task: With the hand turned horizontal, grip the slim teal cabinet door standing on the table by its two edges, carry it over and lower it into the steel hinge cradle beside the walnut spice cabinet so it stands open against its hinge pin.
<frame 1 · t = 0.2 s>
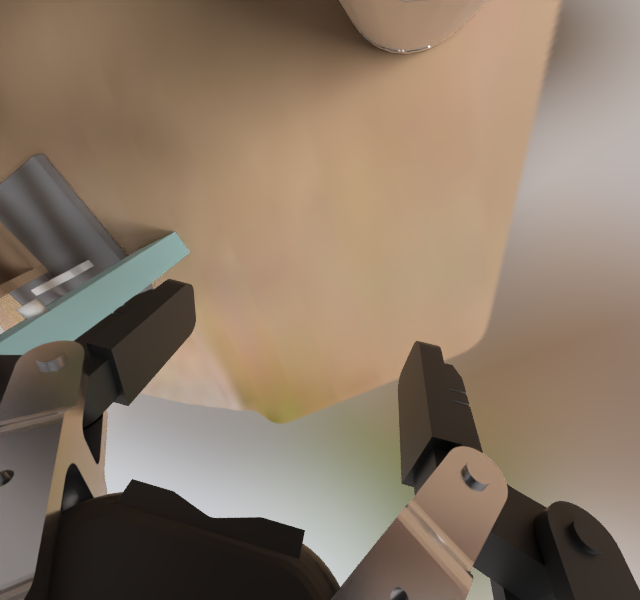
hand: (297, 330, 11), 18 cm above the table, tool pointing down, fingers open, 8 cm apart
door: (164, 250, 32), on the table
cabinet: (92, 284, 38), on the table
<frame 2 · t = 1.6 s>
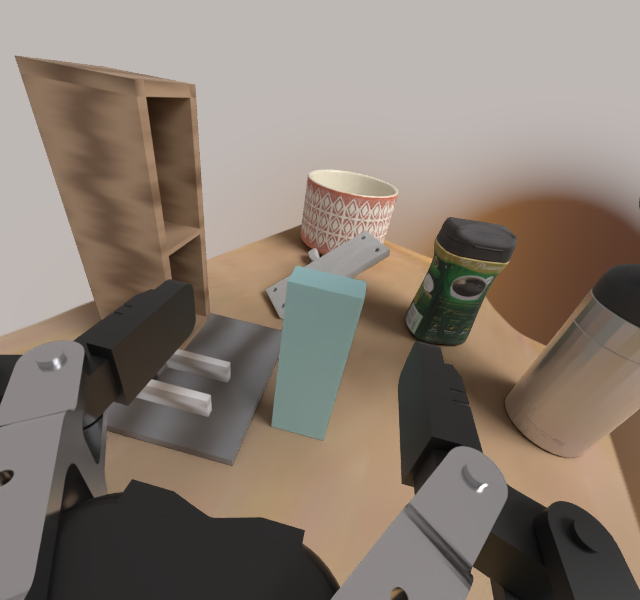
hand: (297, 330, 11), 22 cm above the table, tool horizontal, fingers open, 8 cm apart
planter: (339, 246, 72), on the table
coffee jar: (431, 331, 50), on the table
door: (299, 423, 33), on the table
cabinet: (185, 392, 33), on the table
door handle: (308, 286, 56), on the table
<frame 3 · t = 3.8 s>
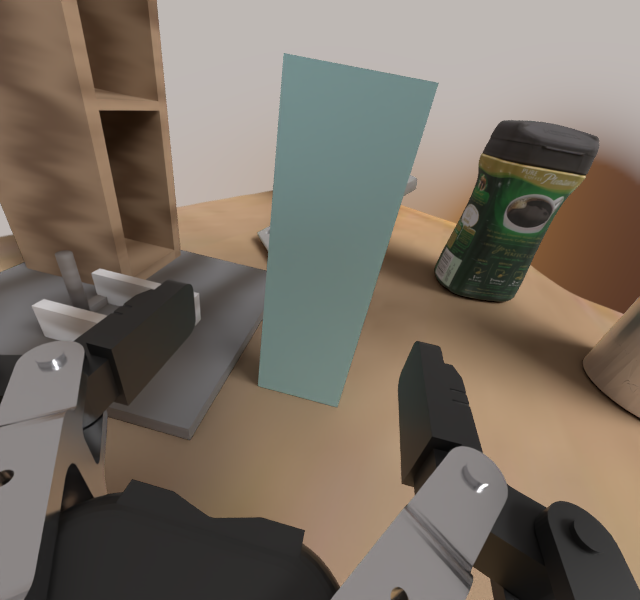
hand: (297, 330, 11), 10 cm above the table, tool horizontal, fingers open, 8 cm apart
coffee jar: (468, 287, 40), on the table
door: (301, 382, 22), on the table
cabinet: (132, 337, 22), on the table
door handle: (310, 238, 45), on the table
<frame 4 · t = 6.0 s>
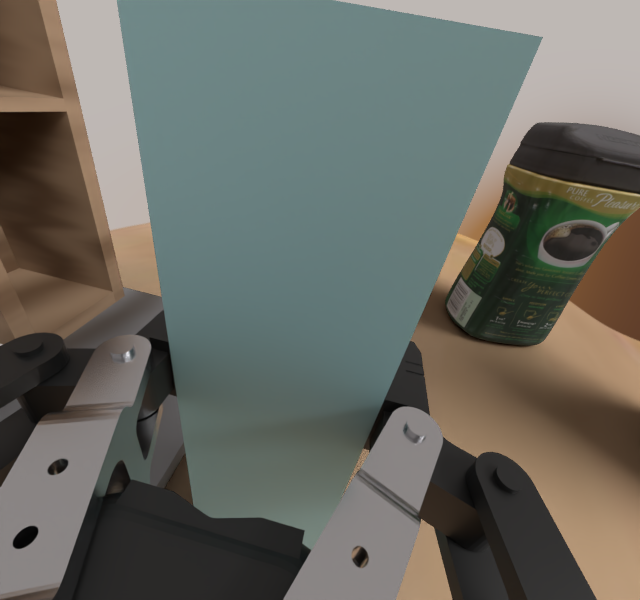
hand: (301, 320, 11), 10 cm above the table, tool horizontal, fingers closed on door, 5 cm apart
coffee jar: (486, 324, 33), on the table
door: (263, 510, 15), on the table, touching gripper
cabinet: (21, 439, 16), on the table
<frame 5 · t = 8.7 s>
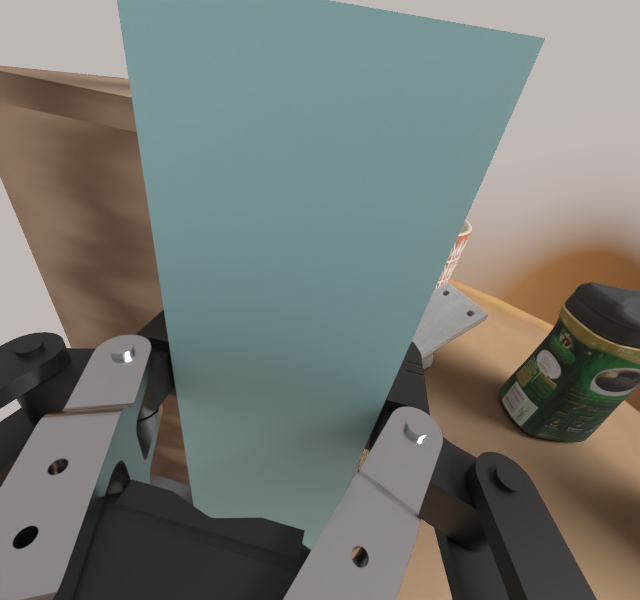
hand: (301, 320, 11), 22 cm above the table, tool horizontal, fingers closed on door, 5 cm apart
planter: (390, 285, 61), on the table
coffee jar: (535, 415, 39), on the table
door: (264, 511, 15), point 12 cm above the table, touching gripper
cabinet: (237, 564, 22), on the table
door handle: (366, 347, 45), on the table
when the fingers open (12 cm above the table, at t = 11.8 s): door stays where it is, resting on cabinet.
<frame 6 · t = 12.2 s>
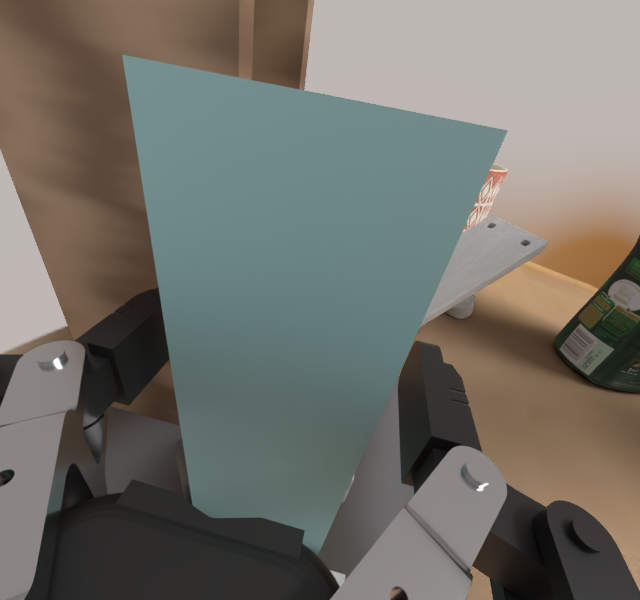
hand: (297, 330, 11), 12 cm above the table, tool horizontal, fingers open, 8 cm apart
planter: (410, 243, 55), on the table
coffee jar: (598, 367, 33), on the table
door: (262, 521, 15), point 1 cm above the table, touching cabinet
cabinet: (260, 528, 16), on the table
door handle: (394, 297, 39), on the table
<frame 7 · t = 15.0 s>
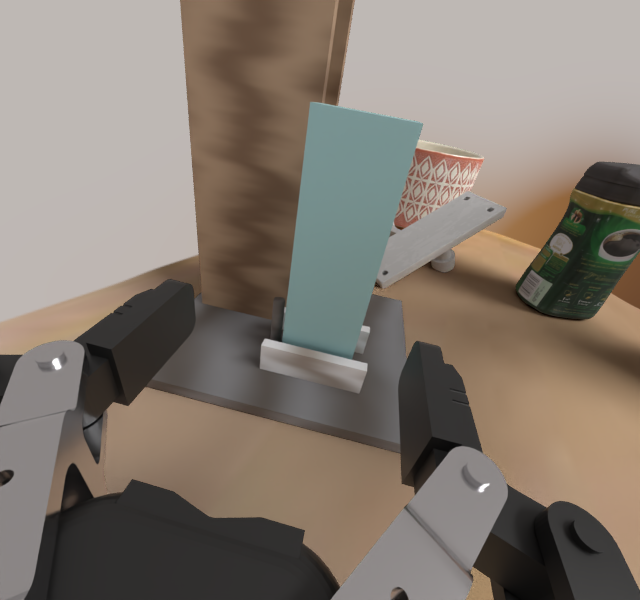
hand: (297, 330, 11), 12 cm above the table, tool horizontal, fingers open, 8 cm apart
planter: (406, 222, 65), on the table
coffee jar: (547, 305, 43), on the table
door: (315, 358, 26), point 1 cm above the table, touching cabinet
cabinet: (313, 365, 26), on the table
door handle: (393, 258, 49), on the table
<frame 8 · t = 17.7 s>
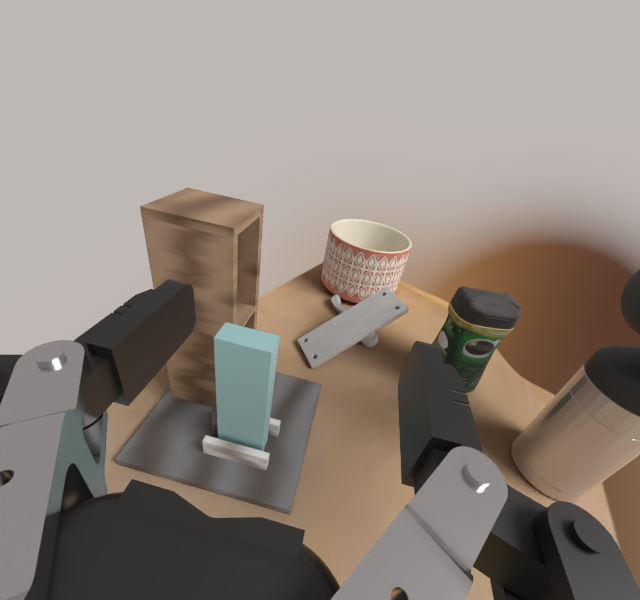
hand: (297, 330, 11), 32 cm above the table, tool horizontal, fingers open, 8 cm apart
planter: (356, 288, 79), on the table
coffee jar: (444, 377, 57), on the table
door: (243, 442, 39), point 1 cm above the table, touching cabinet
cabinet: (242, 446, 40), on the table
door handle: (332, 333, 62), on the table
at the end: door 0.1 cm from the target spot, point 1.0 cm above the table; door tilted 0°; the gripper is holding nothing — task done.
